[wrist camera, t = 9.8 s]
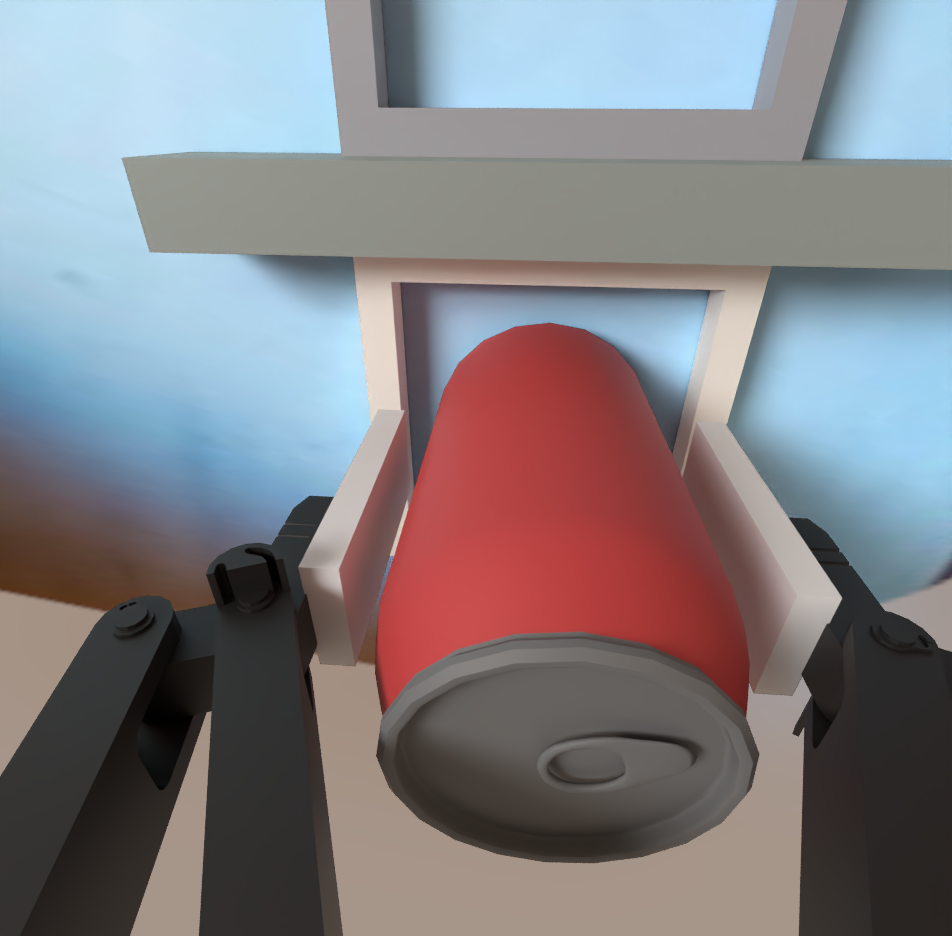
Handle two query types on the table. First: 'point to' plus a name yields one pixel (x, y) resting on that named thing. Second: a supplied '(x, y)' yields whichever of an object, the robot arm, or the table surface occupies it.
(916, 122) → the table surface
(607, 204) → the double frame with crossbar
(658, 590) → the beer can
